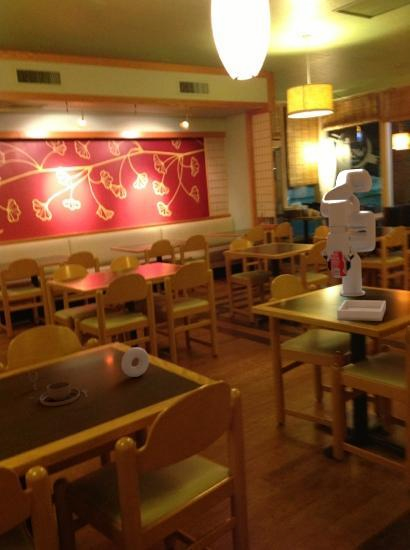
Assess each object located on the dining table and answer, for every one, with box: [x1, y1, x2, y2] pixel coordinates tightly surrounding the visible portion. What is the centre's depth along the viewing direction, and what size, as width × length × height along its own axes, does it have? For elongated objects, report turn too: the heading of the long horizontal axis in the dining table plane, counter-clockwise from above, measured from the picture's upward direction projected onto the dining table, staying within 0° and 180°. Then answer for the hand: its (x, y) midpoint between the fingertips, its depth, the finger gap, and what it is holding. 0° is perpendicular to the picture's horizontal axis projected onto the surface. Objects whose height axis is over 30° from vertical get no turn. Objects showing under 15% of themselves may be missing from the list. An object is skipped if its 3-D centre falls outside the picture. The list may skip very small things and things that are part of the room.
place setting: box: [28, 371, 89, 407], centre depth 166 cm, size 18×20×6 cm
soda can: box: [330, 251, 347, 279], centre depth 235 cm, size 7×7×12 cm
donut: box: [121, 346, 150, 378], centre depth 176 cm, size 10×4×10 cm, turn 127°
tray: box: [336, 299, 387, 322], centre depth 233 cm, size 20×18×4 cm
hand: (339, 269), depth 235 cm, fingers closed on soda can, 7 cm apart
